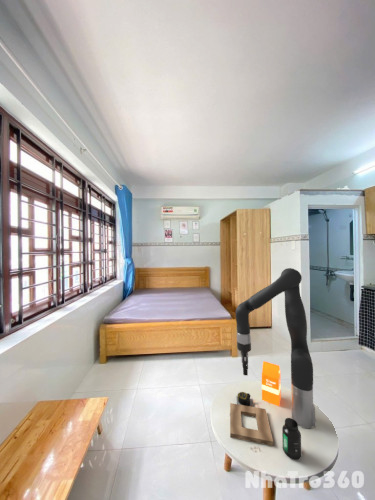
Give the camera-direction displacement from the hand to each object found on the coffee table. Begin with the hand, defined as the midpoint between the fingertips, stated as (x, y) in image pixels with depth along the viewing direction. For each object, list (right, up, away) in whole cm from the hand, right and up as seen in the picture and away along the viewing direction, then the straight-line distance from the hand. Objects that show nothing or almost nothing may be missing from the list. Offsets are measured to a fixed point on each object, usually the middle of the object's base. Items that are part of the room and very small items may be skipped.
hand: (244, 370), depth 106 cm
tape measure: (0, -18, 0) cm, 18 cm away
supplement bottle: (+11, -17, -27) cm, 34 cm away
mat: (0, -18, -1) cm, 18 cm away
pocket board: (-2, -18, -13) cm, 22 cm away
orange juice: (+16, -18, +3) cm, 25 cm away
